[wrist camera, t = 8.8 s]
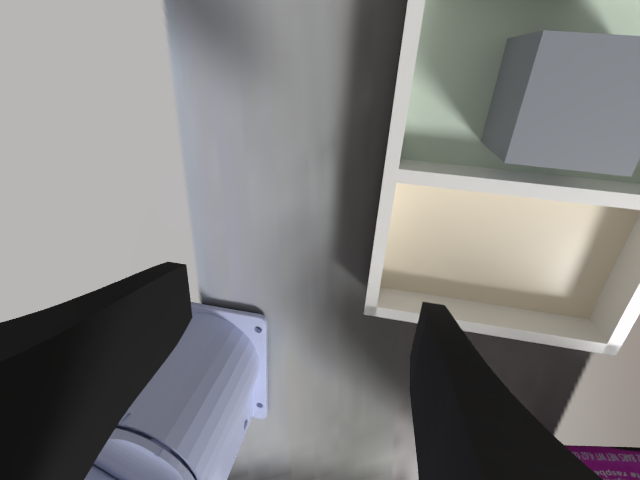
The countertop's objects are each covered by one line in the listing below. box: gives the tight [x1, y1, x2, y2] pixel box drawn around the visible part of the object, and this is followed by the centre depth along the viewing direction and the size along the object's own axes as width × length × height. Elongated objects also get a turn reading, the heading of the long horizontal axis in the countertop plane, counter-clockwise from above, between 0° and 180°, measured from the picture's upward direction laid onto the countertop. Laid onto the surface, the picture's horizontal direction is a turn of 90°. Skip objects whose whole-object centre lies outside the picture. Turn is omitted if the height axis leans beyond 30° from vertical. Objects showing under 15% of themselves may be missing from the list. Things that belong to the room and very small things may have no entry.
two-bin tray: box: [364, 0, 640, 356], centre depth 16 cm, size 15×12×2 cm
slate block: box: [481, 30, 640, 177], centre depth 13 cm, size 4×4×4 cm
